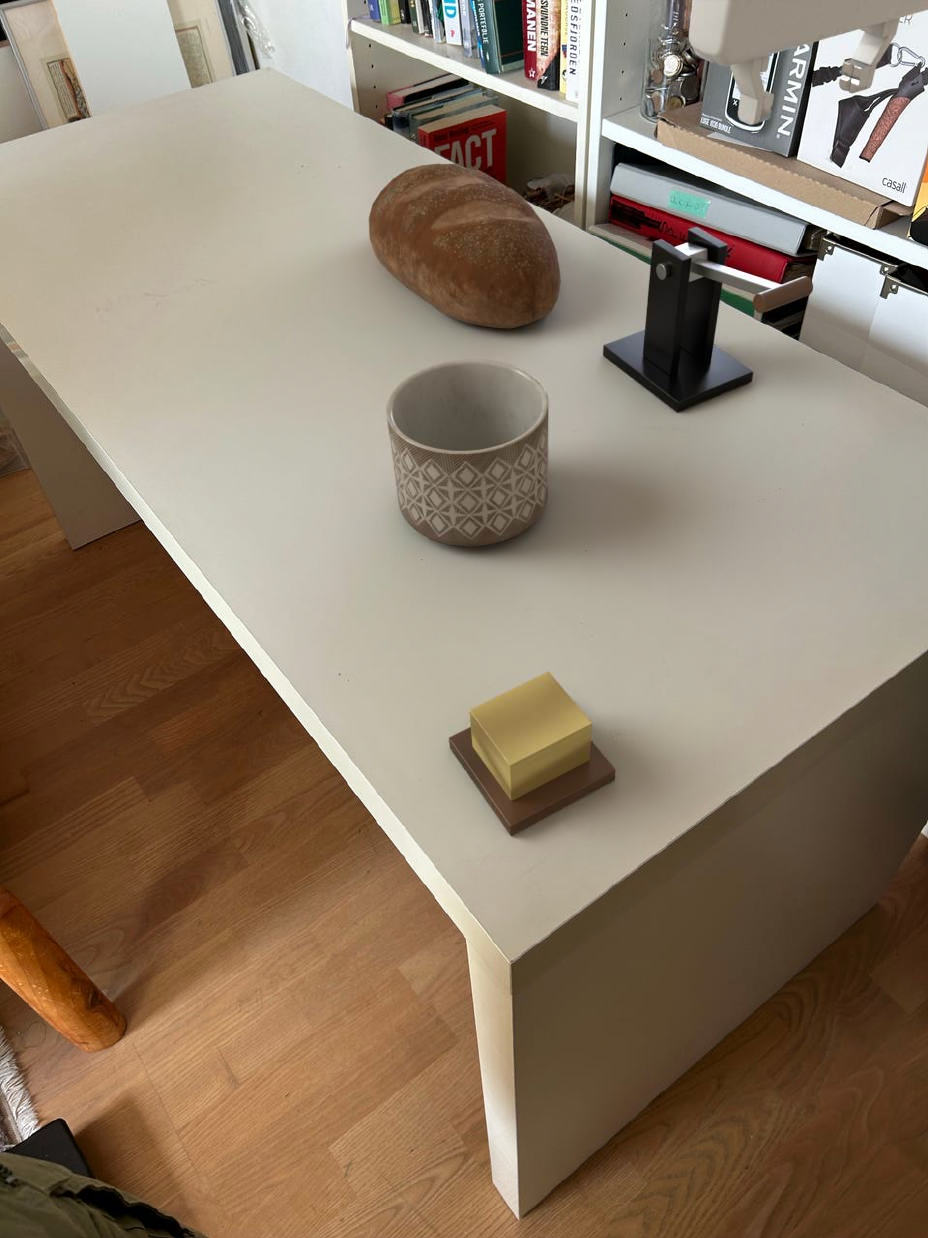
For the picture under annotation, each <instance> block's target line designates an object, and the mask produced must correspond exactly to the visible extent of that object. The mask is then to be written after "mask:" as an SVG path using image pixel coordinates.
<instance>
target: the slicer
mask: <svg viewBox="0 0 928 1238" xmlns="http://www.w3.org/2000/svg"><path fill="white" fill-rule="evenodd" d="M686 243H690V244H693V245H696V246H700V247H703V248H706V249H708V254H707V260H708V261H711V262H714V263H717V264H720V265H723V266H726V262H727V257H728V249H729V244H727V242H724V241H722V240H721V239H719V238H717V237H715V236H714V235H711V234H710V233H708V232H707V231H704V230H703V229H701V228H700V227H698V226H695V227H691V228H688V229H687V235H686ZM675 247H676V246H673V245H672V244H670V243H668V242H667V241H665V240H663V239H662V238H660V239H658V240H655V241H652V244H651V254H650V255H651V257H650V266H649V278H648V279H649V280H648V289H647V290H648V291H647V301H646V312H645V313H646V314H645V325H644V329H643V330H640V331H637V332H634V333H632V334H629V335H627V336H624V337H622V338H619V339H616V340H614V341H611V342H608V343H605V344H603V347H602V356H603V357H604V358H605V359H607V361H609V362H610V363H612V364H613V365H614V366H615V367H616V368H618V369H620V370H621V371H622V372H623V373H625V374H626V375H627V376H629V378H631V379H632V380H634V381H635V382H636V383H638V384H639V385H641V386H642V387H643V388H644V389H645V390H647V392H649V393H651V394H652V395H653V396H655V397H656V398H657V399H658V400H660V401H661V402H662V403H664V404H665V405H667V406H668V407H669V408H670V409H671V410H672V411H674V412H675V413H681V412H682V411H685V410H688V409H690V408H692V407H694V406H697V405H700V404H702V403H704V402H707V401H709V400H711V399H714V398H716V397H719V396H721V395H723V394H726V393H728V392H731V391H733V390H736V389H739V388H741V387H743V386H745V385H748V384H750V383H753V379H754V378H753V377H754V372H755V371H754V370H752V369H751V368H749V367H748V366H746V365H745V364H743V363H742V362H740V361H739V360H737V359H736V358H735V357H733V356H732V355H730V354H728V353H727V352H725V351H724V350H723V349H721V347H718V346H717V345H716V344H715V338H716V329H717V323H718V317H719V310H720V305H721V303H720V302H721V297H722V289H723V288H722V287H723V283H721V282H718V281H715V280H712V279H709V278H707V277H702V278H699V279H696V280H694V281H691V282H689V278H690V269H691V261H692V258H691V257H690V256H688V255H686V254H685V253H683V252H681V251H680V250H678V249H677V248H675Z"/></svg>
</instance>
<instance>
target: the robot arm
mask: <svg viewBox="0 0 928 1238" xmlns="http://www.w3.org/2000/svg"><path fill="white" fill-rule="evenodd" d="M925 11H928V0H693V3H692V8H691V15H690V21H689V28H688V41H689V44H690V46H691V48H692V50H693V53H694V54H695V55H696V56H697V57H698V58H701V59H702V60H705V61H707V62H709V63H713V64H715V65H718V66H721V67H730V68H729V69H730V71H731V74H732V77H733V79H734V81H735V84H736V87H737V89H738V92H739V93H740V96H739V103H738V108H737V109H738V110H737V118H738V119H739V121H740V122H743V123H744V124H747V125H749V126H753V125H757V124H759V123H762V122H765V121H769V120H770V118H771V117H772V107H773V105H774V99H775V94H774V93H772V92H769V91H765V87H764V84H763V80H762V74H761V73H764V72H767V71H768V70H769V69H768V68H769V63H770V58H771V55H774V54H777V53H781V52H784V51H787V50H791V49H795V48H798V47H802V46H805V45H810V44H812V43H815V42H816V43H817V42H819V41H822V40H823V41H824V40H826V39H830V38H834V37H837V36H841V35H845V34H847V33H851V32H855V31H858V30H860V31H862V32H863V34H862V36H861V38H860V40H859V42H858V45H857V46H856V48H855V51H854V53H853V55H852V57H851V59H848V60H844V61H843V63H842V67H841V70H840V71H841V76H840V77H839V83H838V85H839V88H840V89H841V90H842V91H844V92H845V91H846V92H848V93H849V94H855V93H859V92H863V91H866V90H869V89H870V88H871V87H872V84H873V81H874V77H875V73H876V70H877V69H876V68H877V65H878V64H879V62H880V61H881V59H882V58H883V56H884V54H885V53H886V52H887V50H888V48H889V46H890V45H891V44H892V42H893V40H894V38H895V37H896V35H897V32H898V28H899V24H900V20H901V18H904V17H908V16H911V15H914V14H918V13H922V12H925Z"/></svg>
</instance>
